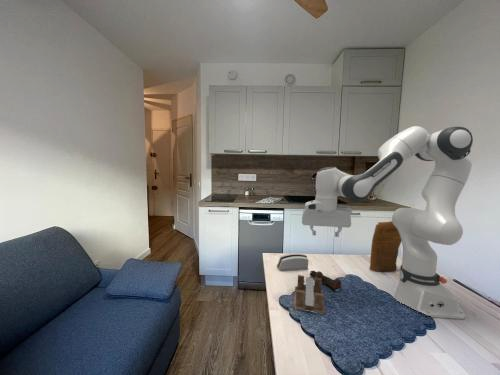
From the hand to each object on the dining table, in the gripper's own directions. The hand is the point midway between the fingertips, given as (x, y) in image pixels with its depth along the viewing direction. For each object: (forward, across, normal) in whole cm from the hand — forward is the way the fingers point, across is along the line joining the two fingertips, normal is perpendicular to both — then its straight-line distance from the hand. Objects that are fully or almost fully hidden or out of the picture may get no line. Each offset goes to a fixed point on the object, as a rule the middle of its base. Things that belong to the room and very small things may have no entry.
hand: (325, 235), depth 96 cm
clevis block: (+25, +7, +9) cm, 28 cm away
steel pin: (+22, +7, +9) cm, 25 cm away
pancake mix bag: (+28, -34, -30) cm, 53 cm away
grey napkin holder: (+26, +15, -18) cm, 35 cm away
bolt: (+26, 0, -7) cm, 27 cm away
